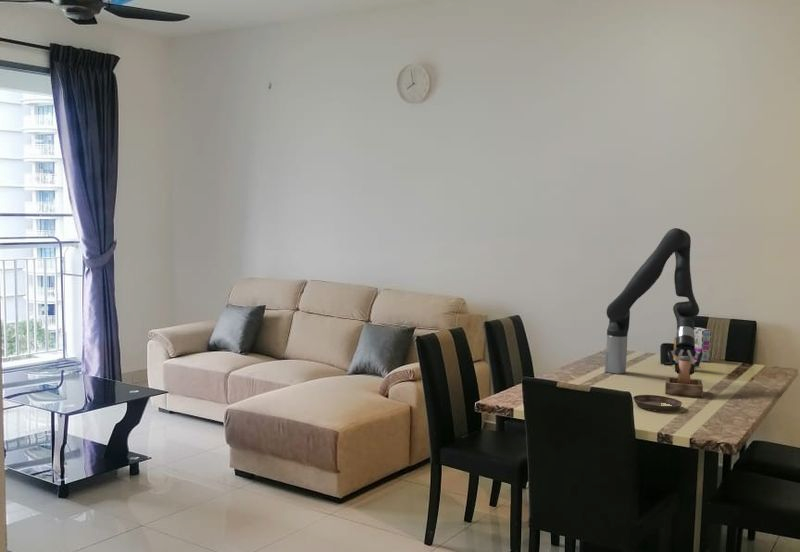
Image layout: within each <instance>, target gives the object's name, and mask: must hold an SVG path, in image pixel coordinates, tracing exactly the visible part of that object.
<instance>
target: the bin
mask: <svg viewBox="0 0 800 552" xmlns="http://www.w3.org/2000/svg"><path fill="white" fill-rule="evenodd" d="M703 385H704V384H703V381H702V379H699V378H690V384H680V383H678V377H675V376H665V386H664V387H665V389H664V390H665V391H664V392H665V393H664V395H665V394H669V395H668V396H675V395H678V396H677V397H685V396H689V398H696V399H703V392H704V391H703Z"/></svg>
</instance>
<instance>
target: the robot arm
mask: <svg viewBox="0 0 800 552" xmlns="http://www.w3.org/2000/svg"><path fill="white" fill-rule="evenodd" d="M691 242H692V241H691V236H690V234H689V233H688V232H687V231H686V230H684V229H682V228H676V227H675V228H674V227H673V228H671V229H669V230H668V231H667V232H666V233H665V235H664V236H663V238H662V239H661V240H660V242H659V244H658V245H657V247H656V248H655V250H654V251H653V252H651V254H650V256H649V257H648V258H647V259H646V261H644V262H643V264H641V266H640V267H639V268H638V270H637V271H636V272H635V274H634V275H633V276H632V277H631V279H630V280H629V282H628V283H627V284H626V286H625V287H624V289H623V290H622V291H621V292H620V293H619V295H618V296H617V297H616V298H615V299H613V301H611V303H609V304H608V306H607V308H606V317H607V318H608V320H609V321H608V327H607V330H606V346H605V347H606V348H605V349H606V350H605V358H604V359H605V360H604V361H605V362H604V372H605V373H610V374H617V375H619V374H626V371H627V355H628V351H627V350H628V334H629V333H628V332H629V328H630V319H631V317H630V316H631V308H632V307H633V305H634V304H635V303H636V301H638V299H640V298H641V297H642V296H643V295H644V294H646V293H647V291H649V290H650V289H651V288H652V287H653V285H655V283H656V282H657V280H659V278H660V277H661V276H662V273H663V270H664V269H665V266H666V263H667V261H668V260H669V259H670V258H671V256H672V255H673V254H674V255H675V269H674V276H673V281H674V289H675V290H674V291H675V295H676V296H677V297H679V298H680V297H681V298H686V299H687V300H688V301H679V302H675V303H674V305H673V307H672V311H673V314H674V317H675V320H676V333H675V334H676V335H675V337H676V349H675V350H674V351H671V350H668V356H669V360H670V363H671V365H675V368H674V372H675V373H676V374H678V373H679V359H680V356H689V357H691V375H693V374H695V368H699V367H700V364H701V363H702V362H701V359H702V354H703V353H702V352H700V353H697V352H696V351H695V333H694V327H695V321H694V320H693V318H695V317H697V316H699V313H700V307H699V304H698V302H697V299H696V298H695V294H694V291H693V283H692V274H691V245H692V244H691ZM674 354H675V355H676V356H677V359H676V361H675V360H674V359H673V355H674ZM695 355H696V356H697V358H698V359H697V360H695V359H694V360H693V357H694V356H695Z"/></svg>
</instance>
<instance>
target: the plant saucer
mask: <svg viewBox="0 0 800 552" xmlns="http://www.w3.org/2000/svg"><path fill="white" fill-rule="evenodd" d="M632 399H633V402H634V403H635V404H636V405H637V407H639V408H641V407H642V408H641V409H643V408H645V409H644V410H647V409H650V410H649V411H651V410H656V411H655V412H659V411H671V412H676V411H677V410H678V409H679V408H680V407H681V406H682V405H683V402H682V401H681V400H678V399H676V398H672V397H669V396H663V395H655V394H637V395H634V396H633V397H632ZM661 403H666V404H670V405H672V406H661ZM662 405H663V404H662Z"/></svg>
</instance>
